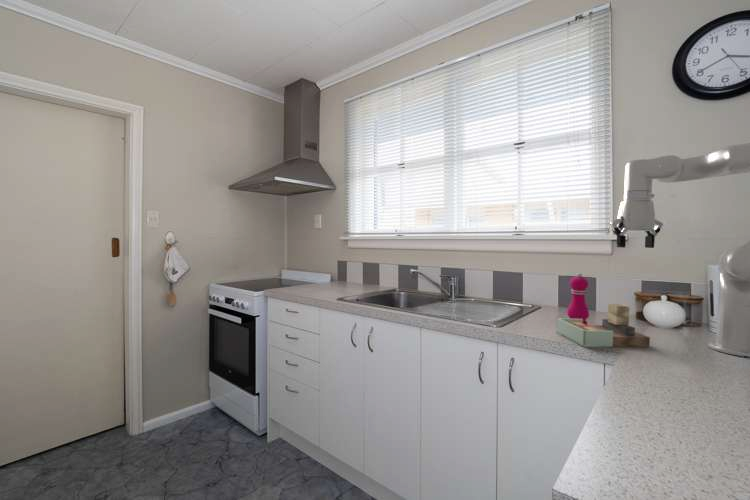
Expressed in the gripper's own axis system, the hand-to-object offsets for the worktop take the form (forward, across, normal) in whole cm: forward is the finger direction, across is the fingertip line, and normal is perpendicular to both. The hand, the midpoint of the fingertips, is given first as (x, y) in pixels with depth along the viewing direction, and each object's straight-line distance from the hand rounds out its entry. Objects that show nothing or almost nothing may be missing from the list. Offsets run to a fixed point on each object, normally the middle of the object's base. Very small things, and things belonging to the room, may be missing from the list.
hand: (635, 247), depth 118 cm
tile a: (+28, +19, +9) cm, 35 cm away
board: (+30, +10, +6) cm, 32 cm away
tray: (+30, +20, +6) cm, 37 cm away
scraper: (+27, +9, +6) cm, 29 cm away
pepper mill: (+31, +11, -13) cm, 35 cm away
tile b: (+28, +19, +3) cm, 34 cm away
